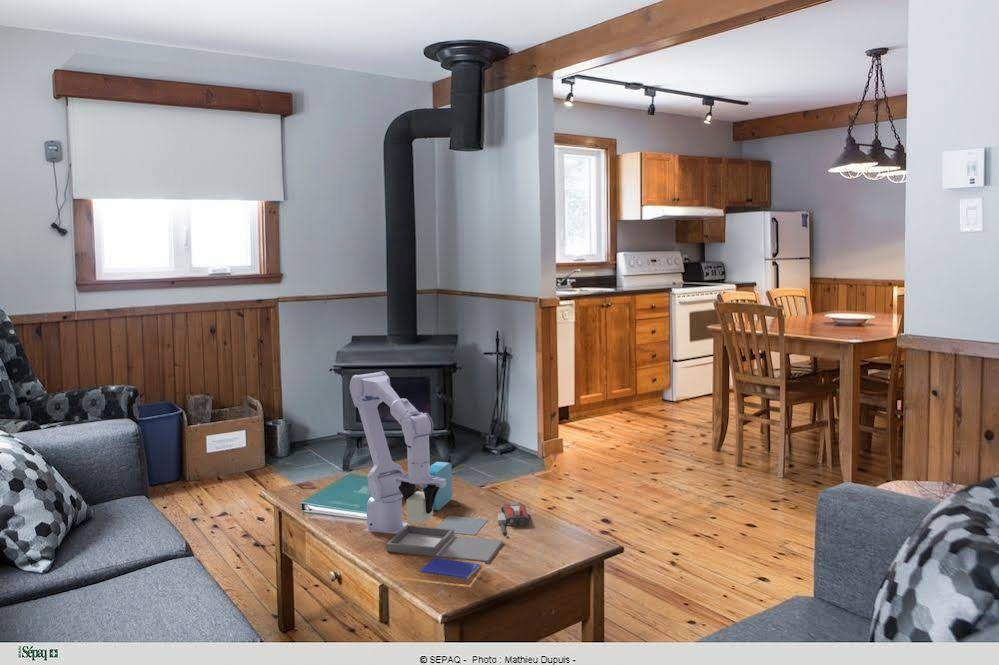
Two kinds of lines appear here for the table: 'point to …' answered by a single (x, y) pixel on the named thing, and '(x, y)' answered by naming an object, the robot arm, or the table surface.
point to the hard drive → (450, 568)
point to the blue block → (445, 493)
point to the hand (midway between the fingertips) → (420, 511)
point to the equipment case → (442, 544)
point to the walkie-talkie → (513, 516)
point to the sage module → (417, 508)
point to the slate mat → (463, 525)
